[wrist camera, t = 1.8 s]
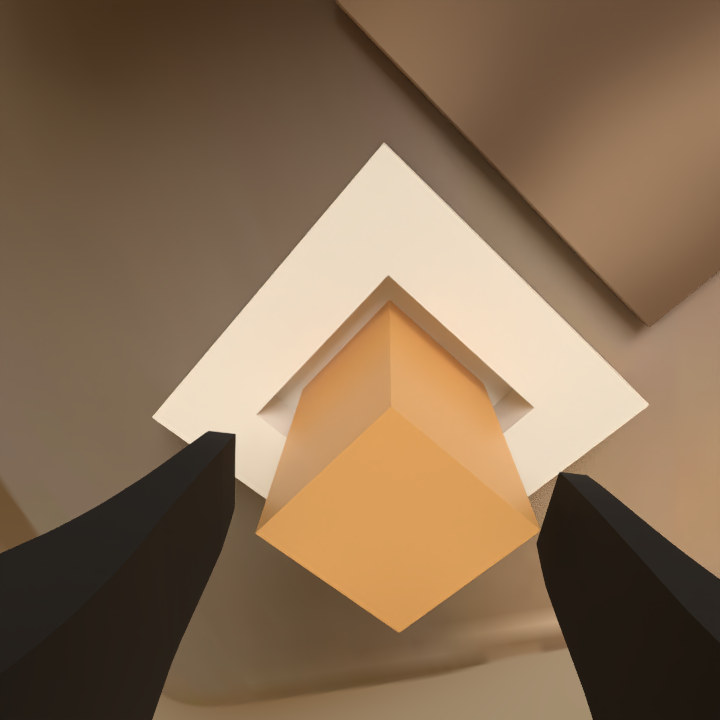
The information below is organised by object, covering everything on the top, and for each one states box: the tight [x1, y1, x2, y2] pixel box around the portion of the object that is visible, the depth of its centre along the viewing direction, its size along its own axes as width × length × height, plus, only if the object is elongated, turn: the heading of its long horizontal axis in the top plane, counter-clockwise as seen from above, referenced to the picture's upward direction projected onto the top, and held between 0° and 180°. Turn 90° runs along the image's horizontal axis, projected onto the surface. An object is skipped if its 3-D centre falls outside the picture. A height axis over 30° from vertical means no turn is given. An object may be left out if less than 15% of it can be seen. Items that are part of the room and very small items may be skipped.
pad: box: [335, 0, 720, 327], centre depth 12 cm, size 12×9×1 cm
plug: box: [256, 300, 541, 633], centre depth 13 cm, size 4×4×6 cm
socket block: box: [152, 142, 649, 499], centre depth 16 cm, size 10×10×2 cm
